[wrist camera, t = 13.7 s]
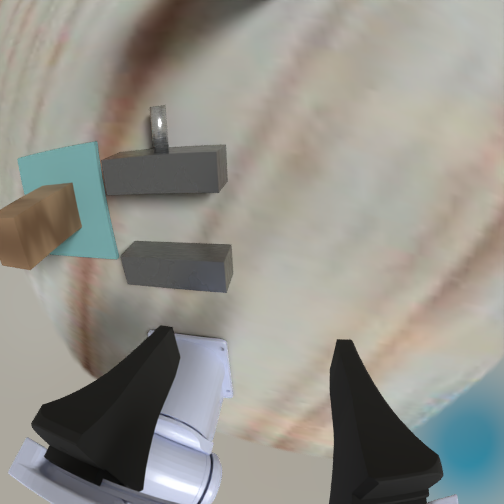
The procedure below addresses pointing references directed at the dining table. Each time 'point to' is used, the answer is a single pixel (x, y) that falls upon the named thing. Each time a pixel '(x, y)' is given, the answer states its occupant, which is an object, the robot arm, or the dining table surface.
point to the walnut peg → (37, 225)
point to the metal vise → (171, 181)
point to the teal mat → (86, 192)
